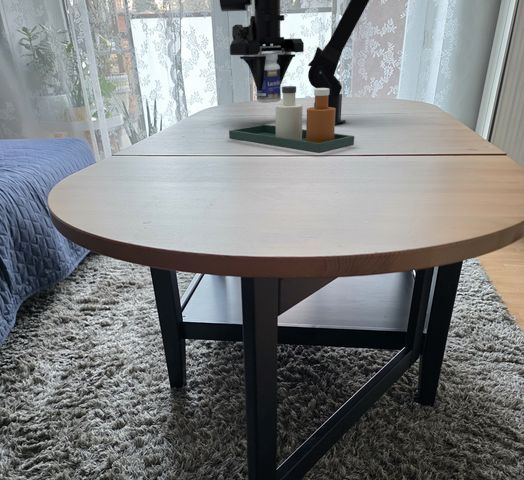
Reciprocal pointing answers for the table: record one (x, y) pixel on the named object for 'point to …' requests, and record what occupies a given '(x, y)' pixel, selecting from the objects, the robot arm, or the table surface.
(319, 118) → the amber bottle
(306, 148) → the tray
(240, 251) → the table surface
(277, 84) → the pill bottle
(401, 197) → the table surface
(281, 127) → the white bottle
